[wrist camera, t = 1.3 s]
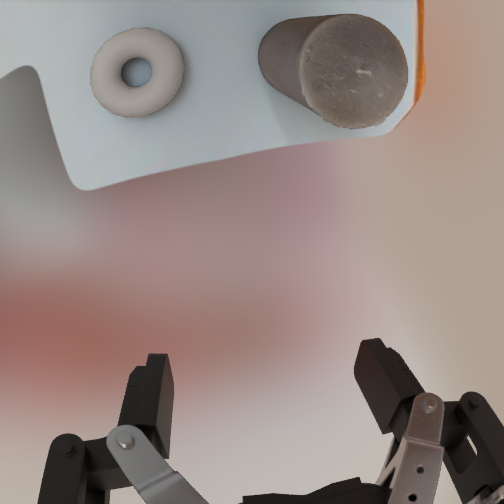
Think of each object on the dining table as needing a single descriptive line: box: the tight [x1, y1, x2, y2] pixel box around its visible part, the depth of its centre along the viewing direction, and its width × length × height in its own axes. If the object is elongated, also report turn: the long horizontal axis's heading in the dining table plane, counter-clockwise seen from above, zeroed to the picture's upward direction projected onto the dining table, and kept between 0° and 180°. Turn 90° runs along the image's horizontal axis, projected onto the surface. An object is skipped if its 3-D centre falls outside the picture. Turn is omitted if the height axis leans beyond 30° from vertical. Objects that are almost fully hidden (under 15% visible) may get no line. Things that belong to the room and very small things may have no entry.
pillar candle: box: [258, 14, 408, 129], centre depth 24 cm, size 10×10×15 cm
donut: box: [90, 28, 184, 117], centre depth 26 cm, size 10×4×10 cm
